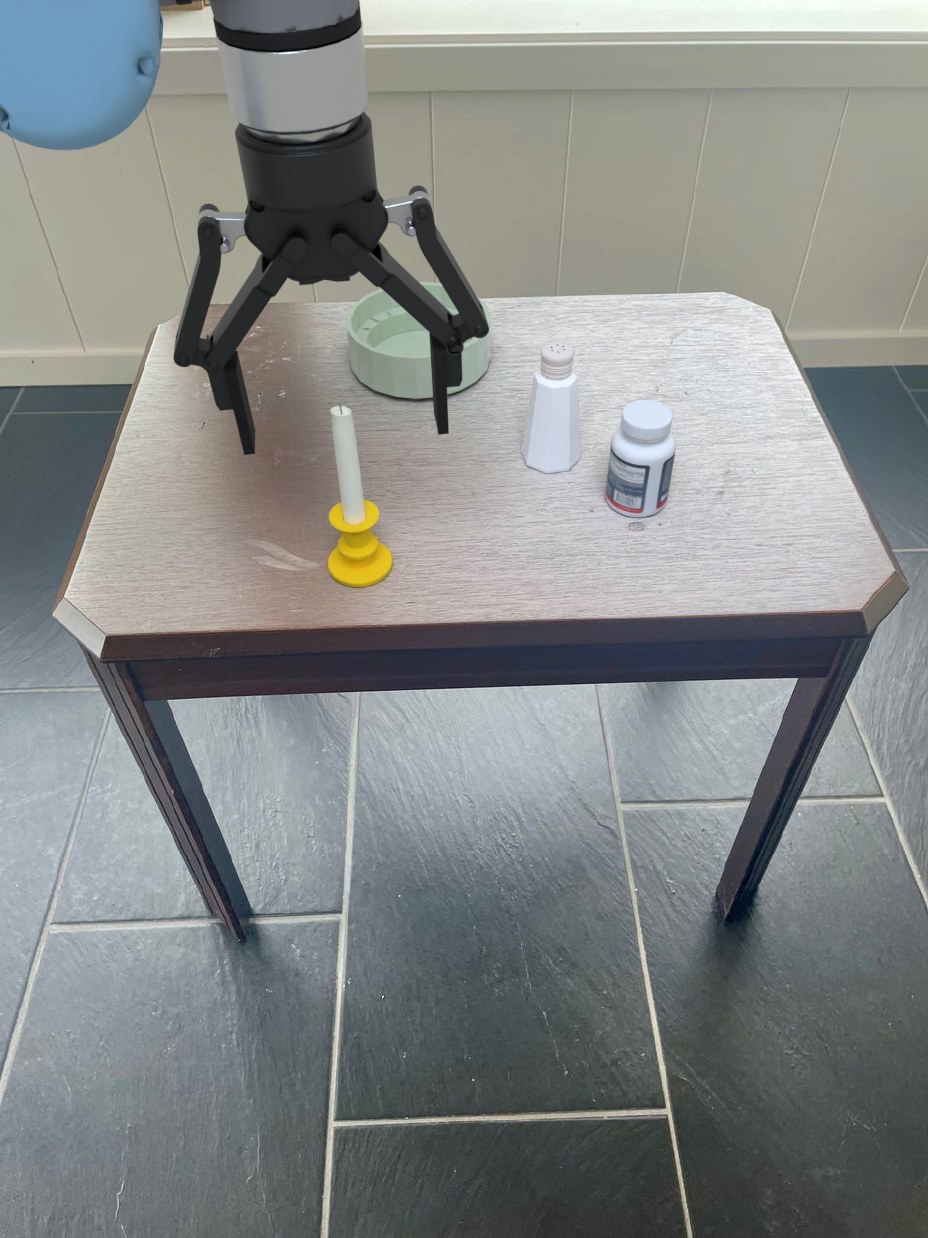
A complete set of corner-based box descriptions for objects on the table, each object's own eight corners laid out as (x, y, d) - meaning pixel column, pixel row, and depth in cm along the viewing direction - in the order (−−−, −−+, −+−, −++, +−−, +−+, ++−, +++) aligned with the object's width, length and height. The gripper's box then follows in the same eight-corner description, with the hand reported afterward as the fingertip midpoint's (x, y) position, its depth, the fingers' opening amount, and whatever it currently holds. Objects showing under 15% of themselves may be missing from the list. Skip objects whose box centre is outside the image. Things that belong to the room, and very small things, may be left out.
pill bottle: (650, 474, 85) (663, 388, 79) (677, 511, 82) (693, 424, 75) (594, 487, 84) (604, 401, 78) (619, 524, 81) (632, 438, 74)
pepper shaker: (556, 430, 90) (563, 323, 82) (593, 460, 87) (604, 352, 78) (508, 451, 88) (511, 343, 80) (544, 482, 85) (551, 374, 76)
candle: (354, 534, 80) (333, 373, 69) (405, 557, 78) (392, 396, 67) (315, 572, 77) (286, 410, 66) (367, 597, 75) (346, 434, 64)
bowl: (356, 409, 92) (350, 363, 89) (347, 331, 102) (342, 287, 98) (500, 395, 94) (500, 350, 90) (478, 320, 103) (478, 276, 99)
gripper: (514, 74, 56) (510, 385, 72) (78, 107, 54) (171, 419, 70) (539, 124, 51) (528, 446, 67) (59, 162, 49) (164, 485, 65)
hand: (346, 433), depth 68 cm, fingers open, 13 cm apart
